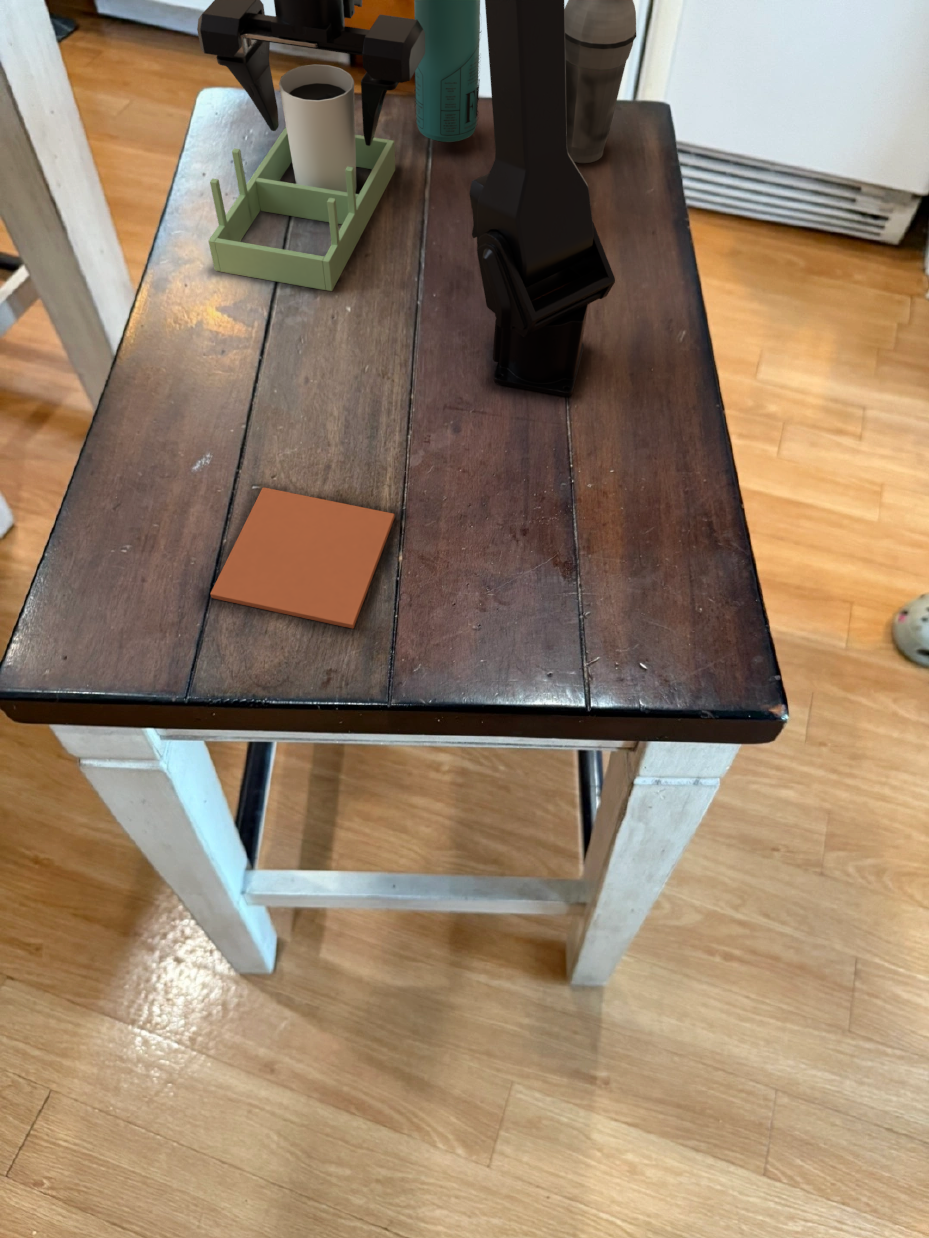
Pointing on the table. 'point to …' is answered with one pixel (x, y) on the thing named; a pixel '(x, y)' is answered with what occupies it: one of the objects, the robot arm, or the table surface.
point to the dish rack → (298, 215)
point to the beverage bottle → (448, 69)
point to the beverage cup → (594, 70)
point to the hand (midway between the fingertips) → (322, 136)
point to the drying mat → (305, 557)
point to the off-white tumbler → (320, 124)
